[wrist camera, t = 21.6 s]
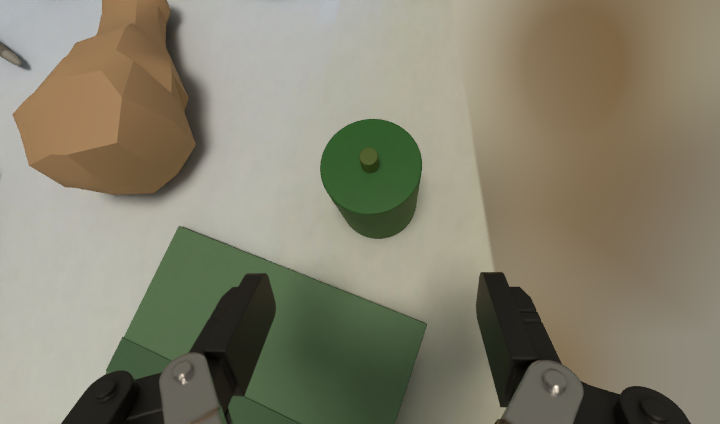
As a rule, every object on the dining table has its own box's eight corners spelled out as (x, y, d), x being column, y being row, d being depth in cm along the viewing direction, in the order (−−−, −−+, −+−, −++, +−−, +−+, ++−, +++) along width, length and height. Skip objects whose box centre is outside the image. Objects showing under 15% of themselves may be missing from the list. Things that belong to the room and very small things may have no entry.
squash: (101, 228, 29) (-47, 184, 20) (127, 51, 36) (27, -32, 28) (212, 193, 26) (94, 128, 18) (215, 11, 34) (133, -91, 26)
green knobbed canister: (426, 180, 26) (438, 123, 18) (401, 249, 25) (401, 223, 17) (357, 158, 27) (338, 95, 19) (330, 224, 26) (298, 188, 18)
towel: (426, 323, 24) (427, 324, 23) (364, 513, 21) (363, 520, 21) (183, 227, 27) (177, 225, 27) (108, 379, 25) (100, 381, 24)
